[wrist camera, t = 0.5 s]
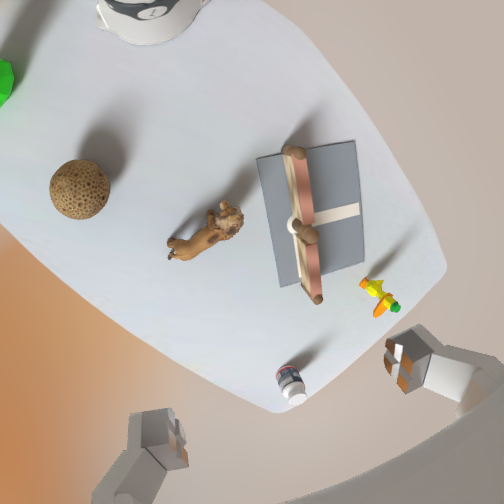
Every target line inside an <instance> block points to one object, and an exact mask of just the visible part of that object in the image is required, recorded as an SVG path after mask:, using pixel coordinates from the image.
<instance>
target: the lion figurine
mask: <svg viewBox="0 0 504 504" xmlns="http://www.w3.org/2000/svg"><path fill="white" fill-rule="evenodd" d="M220 208H221V211H220V212H219V213H217V214H216V215H215V216H214V211H212V210H208V212H207V226H205V227H204V228H202V229H201V230H199V231H198V232H197V233H196V234H194V235H193V236H192V238H191V239H190V240H183V239H177V240H174V239H173V238H169V239H168V241H167V246H168V248H171V247H173V248H174V251H175V252H176V254H174V253H173V252H170V254H169V255H168V259H169V260H170V259H171V258H172V257H173V258H175V259H181V260H183V261H187V260H190V259H193V258H194V257H196V256H197V255H198V254H199V253H201V252H202V251H204V250H206V249H208V248H210V247H211V246H213V245H214V244H216V243H217V242H219V241H221V240H228V239H230V238H231V237H233V235H235V234H236V233H237V232H239V230H240V228H241V227H242V225H243V224H244V222H243V219H244V217H243V216H244V215H243V214H242V213H241V210H240V208H239V207H231V206H230V203H229V202H228V201H222V202H221V203H220Z"/></svg>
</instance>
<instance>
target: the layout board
mask: <svg viewBox="0 0 504 504" xmlns="http://www.w3.org/2000/svg"><path fill="white" fill-rule="evenodd" d="M305 150H306V152H307V155H306V161H307V168H308V174H309V181H310V188H311V195H312V202H313V209H314V217H315V223H312V224H310V225H311V226H312V227H313V228H315V229H316V230H317V231H318V232H319V235H320V236H319V239H318V241H317V242H316V243H317V248H318V257H319V266H320V276H321V275H324V274H327V273H330V272H334V271H337V270H340V269H343V268H346V267H349V266H352V265H355V264H358V263H361V262H364V247H363V226H362V211H361V198H360V186H359V176H358V166H357V158H356V149H355V142H347V143H341V144H334V145H328V146H322V147H316V148H311V149H305ZM256 160H257V165H258V170H259V175H260V180H261V185H262V190H263V195H264V201H265V206H266V211H267V217H268V222H269V227H270V233H271V238H272V243H273V249H274V254H275V260H276V266H277V271H278V277H279V282H280V287H285V286H288V285H292V284H295V283H298V282H301V281H302V278H301V269H300V262H299V255H298V248H297V241H296V235H299V234H298V233H297V232H296V231H295V230H294V229H293V228H292V221H293V220H294V219H295V218H296V217H295V216H294V215H293V213H292V206H291V200H290V194H289V188H288V182H287V176H286V170H285V165H284V159H283V154H279V155H274V156H269V157H264V158H260V159H256Z"/></svg>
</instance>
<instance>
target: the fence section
mask: <svg viewBox="0 0 504 504" xmlns="http://www.w3.org/2000/svg"><path fill="white" fill-rule="evenodd" d="M292 228H293V229H294V230H295V231H296V232H297V233H298V234H299V235H296V241H297V248H298V255H299V262H300V269H301V278H302V283H301V286H302V288H303V289H304V290H305V292H306V293H307V294H308V296H309V297H310V298H311V300H312V301H313V302H314V304H316V305H318V304H321V303H322V301H323V297H322V286H321V276H320V266H319V257H318V248H317V243H316V242H317V241H318V239H319V236H320V235H319V232H318V231H317V230H316V229H315V228H313V227H312V226H311V225H310V224H308V225H303V224H302V222H301V221H300V220H299V219H298V218H295V219H294V220H293V221H292Z"/></svg>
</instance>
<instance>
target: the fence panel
mask: <svg viewBox="0 0 504 504" xmlns="http://www.w3.org/2000/svg"><path fill="white" fill-rule="evenodd" d="M281 152H282V154H283V159H284V165H285V170H286V176H287V182H288V188H289V194H290V200H291V206H292V213H293V215H294V216H295V217H296V218H298V219H299V220H300V221H301V222H302V224H303V225H308V224H312V223H315V217H314V209H313V202H312V195H311V188H310V181H309V174H308V168H307V161H306V155H307V152H306V150H305V149H304V148H300V147H295V146H289V145H285V146H283V147H282V149H281Z"/></svg>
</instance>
